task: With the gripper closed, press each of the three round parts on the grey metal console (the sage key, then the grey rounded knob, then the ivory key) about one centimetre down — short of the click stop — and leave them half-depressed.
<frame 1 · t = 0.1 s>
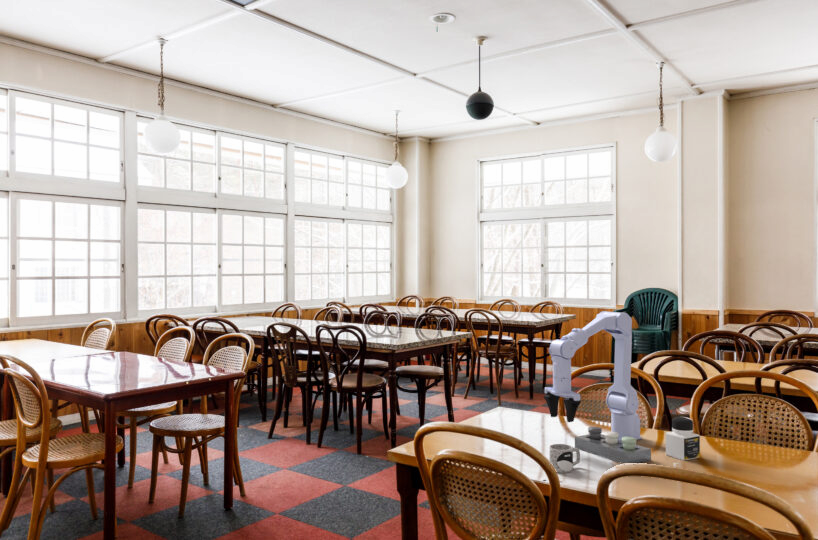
hand: (562, 419, 204), 10 cm above the table, fingers open, 7 cm apart
mug: (565, 469, 185), on the table
ivory key: (611, 439, 200), point 5 cm above the table, slide at 0.0 cm
grey rounded knob: (595, 434, 206), point 4 cm above the table, slide at 0.0 cm
sage key: (629, 444, 194), point 4 cm above the table, slide at 0.0 cm
medicine bottle: (682, 457, 197), on the table
key console: (611, 453, 200), on the table
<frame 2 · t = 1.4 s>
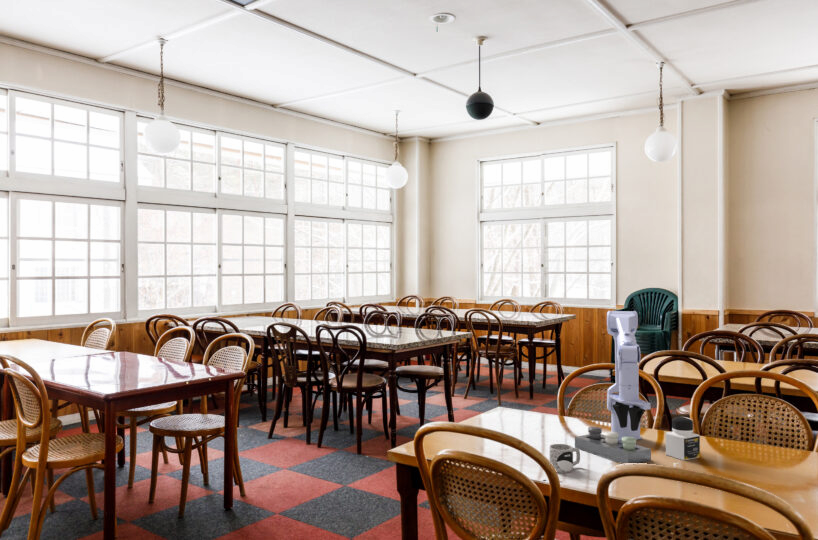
hand: (628, 428, 194), 9 cm above the table, fingers open, 4 cm apart
nothing on the table moved.
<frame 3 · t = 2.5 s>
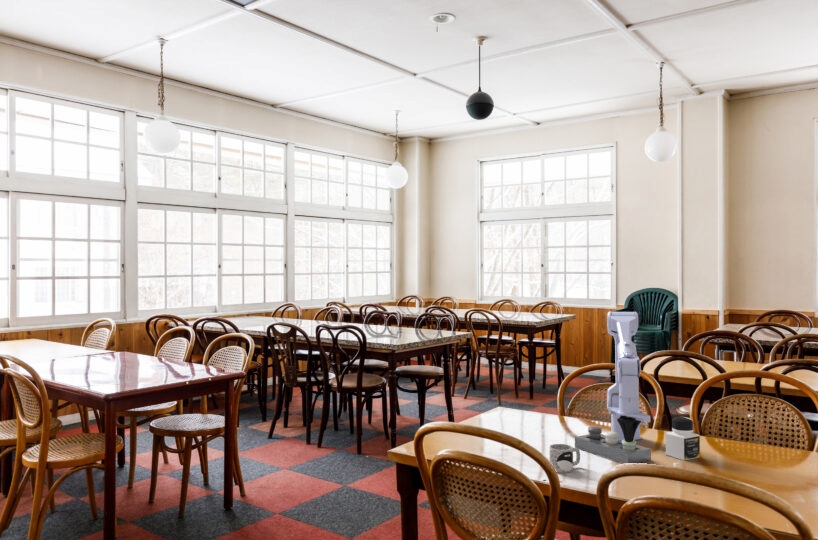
hand: (629, 441, 194), 6 cm above the table, fingers closed, pressing on sage key
sage key: (629, 447, 194), point 4 cm above the table, slide at 0.9 cm, touching gripper
everything else where it was.
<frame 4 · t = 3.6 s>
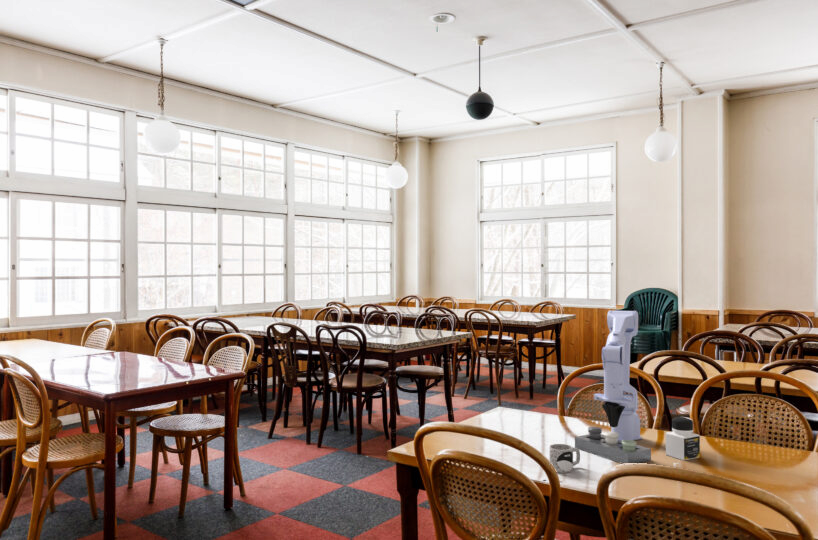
hand: (613, 426, 199), 9 cm above the table, fingers closed
sage key: (629, 448, 194), point 3 cm above the table, slide at 1.0 cm
everything else where it was.
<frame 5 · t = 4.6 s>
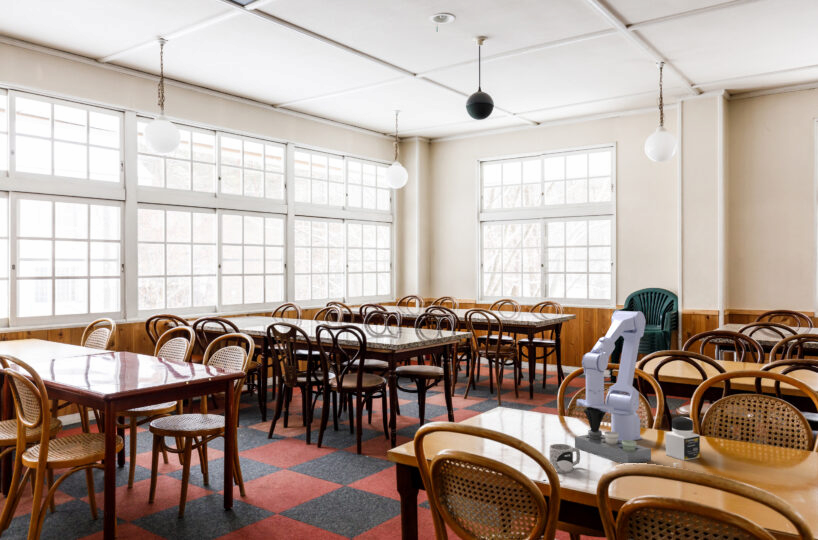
hand: (594, 431, 206), 6 cm above the table, fingers closed, pressing on grey rounded knob
grey rounded knob: (595, 437, 206), point 4 cm above the table, slide at 0.9 cm, touching gripper
everything else where it was.
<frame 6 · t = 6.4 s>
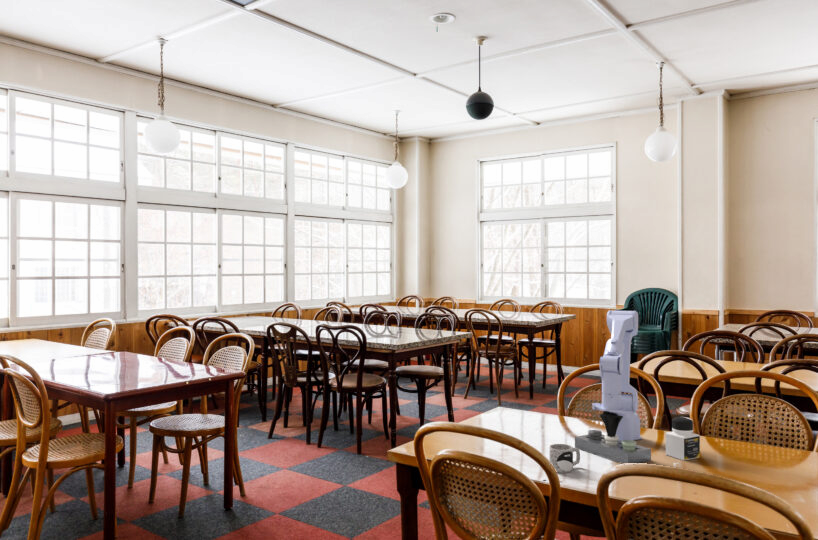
hand: (611, 436, 200), 6 cm above the table, fingers closed, pressing on ivory key
ivory key: (611, 442, 200), point 4 cm above the table, slide at 0.9 cm, touching gripper
grey rounded knob: (595, 437, 206), point 3 cm above the table, slide at 1.0 cm
everything else where it was.
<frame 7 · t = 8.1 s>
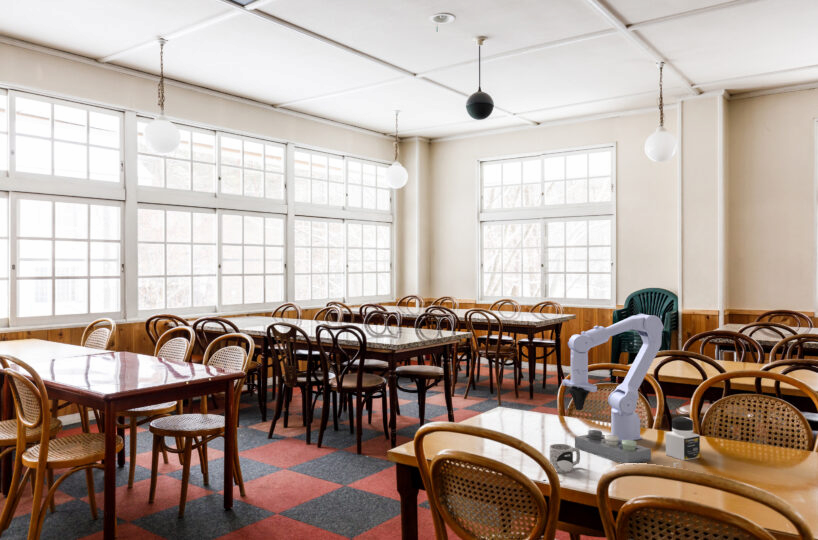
hand: (579, 409, 216), 10 cm above the table, fingers closed
ivory key: (611, 442, 200), point 3 cm above the table, slide at 1.0 cm
everything else where it was.
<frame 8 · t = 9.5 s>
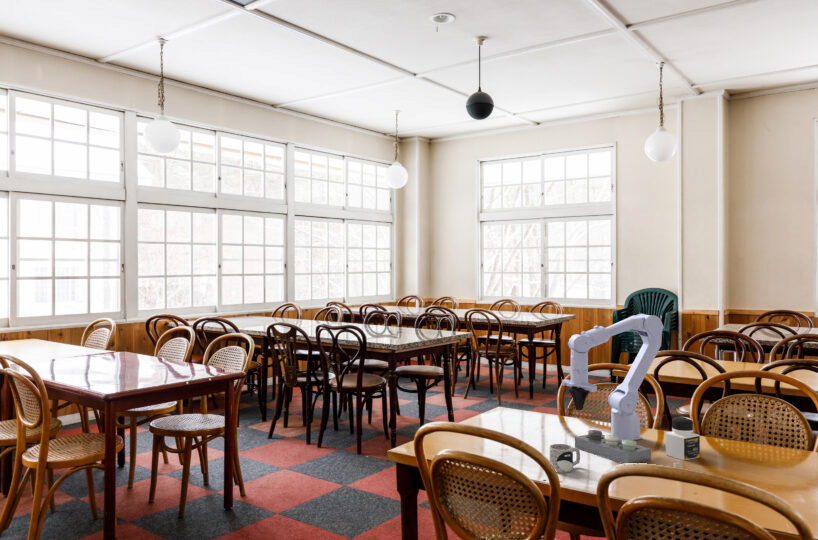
hand: (579, 409, 216), 10 cm above the table, fingers closed
nothing on the table moved.
at the end: sage key slide at 1.0 cm; grey rounded knob slide at 1.0 cm; ivory key slide at 1.0 cm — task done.
